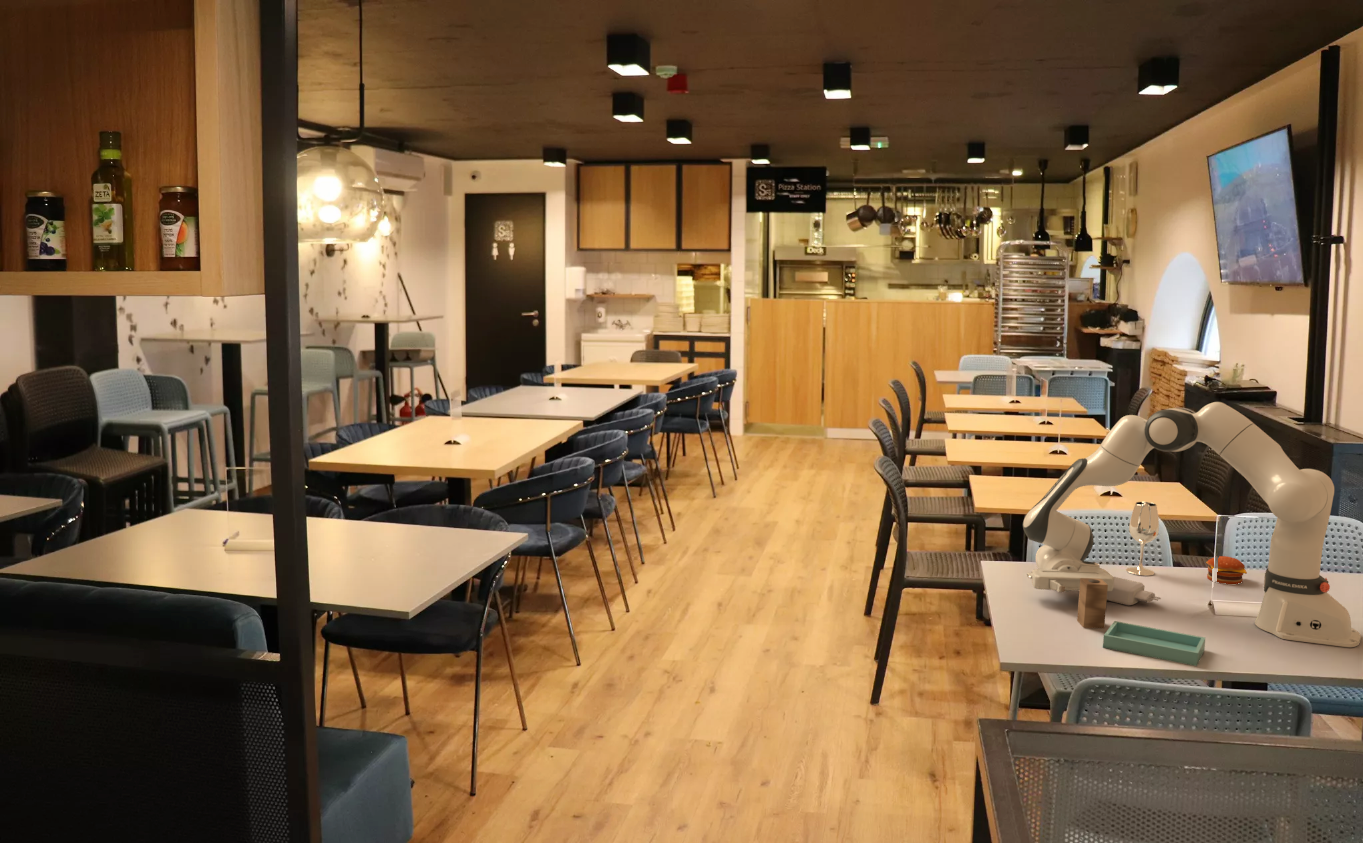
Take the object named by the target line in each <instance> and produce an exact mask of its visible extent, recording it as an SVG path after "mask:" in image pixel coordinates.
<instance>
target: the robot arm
mask: <svg viewBox="0 0 1363 843" xmlns="http://www.w3.org/2000/svg"><path fill="white" fill-rule="evenodd" d="M1109 430H1110V431H1109V432H1108V433H1107V435H1106V436H1105V437H1104V439H1103V440H1102V442H1101V443H1100V445H1099V447H1098V448H1097V449H1096V450H1095V451H1094V452H1093V453H1091V454H1090V455H1089V456H1087V457H1085V458H1078V459H1077V460H1075V461H1074V462H1073V463H1072V464H1071V465H1070V466H1069V467H1068V468H1067V469H1066V470H1065V471H1064V472H1063V474H1062V475H1060V477H1059V478H1058V479H1057V480H1056V482H1055V483H1054V484H1053V485H1052V486H1051V488H1050V489H1049V490H1048V491H1047V492H1046V493H1045V495H1044V496H1043V497H1042V498H1041V499H1040V500H1039V501H1038V502H1037V503H1036V504H1035V505H1033V507H1031V508H1030V510H1029V511H1028V512H1027V514H1026V515H1025V516H1024V519H1023V522H1022V528H1023V532H1024V533H1025V535H1026V537H1027V539H1028V540H1030V541H1032V542H1036V543H1039V544H1042V546H1040V547H1039V548H1038V550H1037V551H1036V554H1035V565H1036V567H1037V568H1034V569H1033V570H1032V571H1031V572H1027V573H1026V577H1027V578H1028V579H1030V580H1031V584H1032V586H1033V588H1034V589H1036V590H1049V591H1051V590H1052V591H1057V592H1058V593H1065V592H1071V591H1079V590H1080V578H1095V579H1102V580H1103V581H1104V582H1105V583H1106V584H1107V585H1108V589H1107V591H1112V590H1113V588H1114V578H1113V577H1114V576H1113V575H1112V574H1111V573H1109V571H1107V570H1105V569H1104V568H1101V567H1100V566H1101V565H1100V564H1099V563H1097V562H1093V561H1087V560H1086V559H1087V557H1088V556H1089V555H1090V553H1091V552H1092V548H1093V546H1094V535H1093V534H1094V533H1093V530H1092V528H1091V526H1090V525H1089V524H1087V523H1085V522H1083V521H1081V520H1078V519H1076V518H1074V517H1072V516H1068V515H1067V514H1065V513H1062V512H1060V511H1058V509H1059V508H1060V507H1061V506H1062V505H1063V504H1064V503H1065V501H1067V499H1068V498H1069V497H1070V495H1072V493H1073V492H1074V491H1075V490H1077V489H1079V488H1082V487H1087V486H1096V487H1097V486H1099V487H1117V486H1120V485H1124V484H1125V483H1127V482H1129V481H1130V480H1131V479H1132V478H1133V477H1134V476H1135V474H1136V472H1137V471H1138V469H1139V468H1140V466H1141V464H1142V463H1143V462H1144V459H1145V458H1146V456H1147V455H1148V454H1149V453H1150V451H1152V450H1153V449H1156V450H1158V451H1161V452H1165V453H1166V452H1167V453H1169V452H1174V453H1175V452H1182V451H1185V450H1189V449H1191V448H1193V447H1195V446H1196V445H1197V444H1198V443H1203V444H1205V445H1207V447H1209V448H1211V450H1212V451H1214V452H1215V453H1216V454H1217V455H1219V456H1220V457H1221V458H1222V459H1223V460H1224V461H1225V462H1227V463H1228V464H1229V465H1230V466H1231V467H1232V468H1234V469H1235V470H1236V471H1237V472H1238V473H1239V475H1241V476H1242V477H1244V478H1245V479H1246V481H1247V482H1248V483H1249V484H1250V485H1251V487H1252V488H1253V489H1254V490H1255V491H1256V493H1257V494H1258V495H1259V496H1260V498H1262V500H1263V501H1264V502H1265V503H1266V504H1267V506H1268V508H1269V509H1270V511H1271V513H1272V515H1274V516H1275V517H1276V522H1275V526H1274V530H1273V533H1272V535H1271V537H1270V538H1271V539H1270V547H1269V556H1268V566H1267V568H1266V570H1265V573H1264V579H1263V591H1264V593H1263V598H1262V600H1261V605H1260V608H1259V611H1258V614H1257V617H1256V619H1255V620H1254V624H1255V625H1256V627H1257V628H1259V629H1260V630H1262V631H1265V632H1267V633H1270V634H1273V635H1274V636H1276V637H1278V638H1279V639H1283V640H1288V641H1297V642H1305V643H1312V644H1320V645H1325V646H1326V645H1327V646H1336V647H1343V648H1355V647H1357V646H1358V645H1360V644H1359V643H1361V641H1362V639H1361V637H1362V636H1361V634H1360V632H1359V631H1358V630H1357V629H1355V628H1353V627H1352V621H1351V615H1350V613H1349V611H1348V609H1347V608H1346V607H1345V606H1343V605H1342V604H1341V603H1340V602H1339V601H1338V600H1336V599H1335V598H1334V597H1333V596H1332V595H1331V594H1329V593H1328V592H1330V588H1331V586H1330V585H1331V584H1329V581H1328V579H1327V577H1323V576H1322V575H1320V572H1321V564H1322V558H1323V557H1322V556H1323V555H1322V554H1323V546H1324V542H1325V538H1326V534H1327V529H1328V526H1329V523H1330V522H1329V521H1330V517H1331V512H1332V506H1333V500H1334V496H1335V485H1334V483H1333V482H1334V481H1333V480H1332V479H1331V478H1330V476H1328V475H1327V474H1326V473H1324V471H1320V470H1318V469H1314V468H1302V469H1300V468H1299V467H1297V466H1296V465H1295V463H1294V462H1293V461H1292V460H1291V459H1290V457H1289V456H1288V455H1287V454H1286V452H1285V451H1284V450H1283V448H1282V446H1281V445H1280V444H1279V443H1278V442H1277V441H1276V440H1274V439H1273V438H1272V437H1271V436H1270V435H1268V434H1267V433H1266V432H1264V430H1262V429H1261V428H1260V427H1259V426H1257V425H1256V424H1255V423H1254V422H1253V421H1252V420H1251V419H1249V418H1248V417H1247V416H1245V415H1243V413H1240V412H1239V411H1237V410H1236V409H1235V408H1233V407H1231V406H1230V405H1227V404H1226V403H1224V402H1221V401H1214V402H1211V403H1208V404H1206V405H1204V406H1203V407H1202V408H1200V409H1199V410H1198V411H1197V412H1195V413H1194V412H1192V411H1191V410H1188V409H1184V408H1177V407H1176V408H1174V407H1173V408H1166V409H1161V410H1158V411H1155V412H1154V413H1152V414H1151V415H1150V416H1149V417H1148V419H1145V418H1144V417H1142V416H1139V415H1135V414H1134V415H1133V414H1129V415H1128V414H1127V415H1125V416H1124V415H1123V417H1121V418H1120V419H1119V420H1118V421H1117V422H1116V423H1115V424H1114V426H1113V427H1112V428H1111V429H1109Z"/></svg>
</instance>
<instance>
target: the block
mask: <svg viewBox="0 0 1363 843" xmlns="http://www.w3.org/2000/svg"><path fill="white" fill-rule="evenodd" d="M1107 589H1108V585H1107V584H1106V583H1105V582H1104V581H1103V580H1102V579H1095V578H1080V590H1078V592H1079V593H1078V594H1079V595H1078V604H1077V605H1078V606H1077V618H1076V622H1077V623H1078V624H1079V625H1080V626H1081V627H1082V628H1083V629H1105V625H1106V623H1105V622H1106V612H1107V611H1106V610H1107Z"/></svg>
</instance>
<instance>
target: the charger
mask: <svg viewBox="0 0 1363 843" xmlns="http://www.w3.org/2000/svg"><path fill="white" fill-rule="evenodd" d="M1113 578H1114V588H1113V590H1112V591H1107V601H1108V602H1113V603H1117V604H1121V605H1125V606H1132V605H1135V604H1137V603H1139V602H1144V603H1148V604H1149V603H1152V602H1153V601H1159V600H1161V599H1162V598H1161V597H1159V596H1156V594H1155V592H1152V591H1147V590H1145V588H1146V587H1145V585H1144V583H1143V582H1140V581H1135V580H1131V579H1126V578H1123V577H1117V576H1113ZM1107 601H1106V602H1107Z"/></svg>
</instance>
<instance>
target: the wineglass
mask: <svg viewBox="0 0 1363 843" xmlns="http://www.w3.org/2000/svg"><path fill="white" fill-rule="evenodd" d="M1128 531H1129V534H1130V536H1131V537H1132V538H1133V540H1135V541H1136V542H1137V543H1139V545H1140V555H1139V556H1140V557H1139V564H1138V566H1137V567H1136V566H1135V567H1134V566H1133V567H1127V568H1126V569H1125V570H1126V572H1127V573H1128V574H1132V575H1136V576H1143V577H1146V576H1147V577H1149V576H1153V575H1155V571H1153V570H1152V569H1149V568H1145V567H1144V565H1143V559H1144V548H1145V545H1146V544H1149V543H1150V542H1153V541H1155V539H1156V538H1157V536H1158V535H1159V531H1160V520H1159V512H1158V505H1157V504H1156V503H1153V502H1149V501H1136V502H1135V503H1134V506H1133V510H1132V514H1131V516H1130V520H1129V525H1128Z"/></svg>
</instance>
